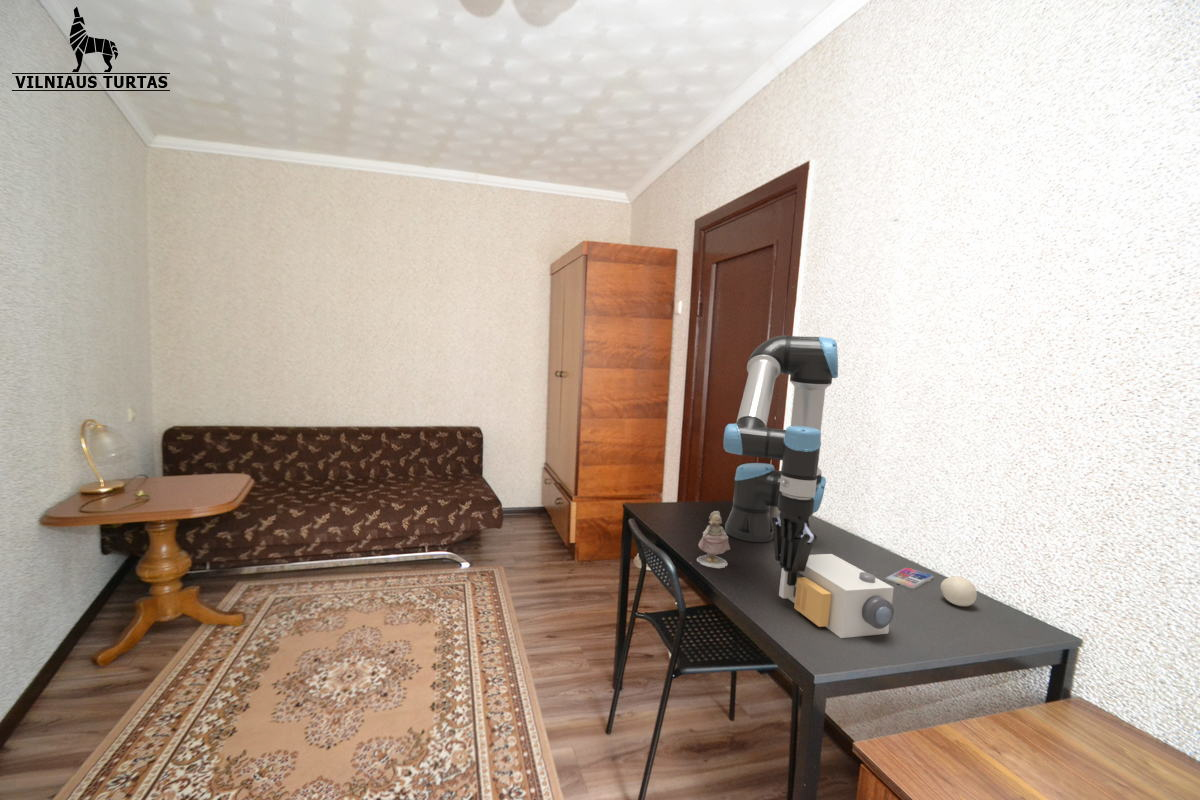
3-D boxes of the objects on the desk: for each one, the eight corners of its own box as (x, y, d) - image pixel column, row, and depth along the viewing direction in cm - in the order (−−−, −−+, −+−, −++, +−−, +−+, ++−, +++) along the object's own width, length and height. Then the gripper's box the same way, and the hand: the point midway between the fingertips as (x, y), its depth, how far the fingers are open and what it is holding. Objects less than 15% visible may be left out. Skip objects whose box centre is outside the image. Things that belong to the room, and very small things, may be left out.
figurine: (708, 571, 127) (701, 512, 131) (684, 569, 136) (678, 513, 139) (739, 566, 133) (731, 509, 136) (714, 564, 141) (708, 510, 144)
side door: (793, 607, 110) (797, 577, 110) (802, 607, 111) (805, 577, 111) (818, 626, 103) (822, 594, 102) (828, 626, 103) (831, 593, 103)
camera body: (784, 596, 118) (789, 551, 117) (827, 593, 121) (832, 549, 120) (849, 645, 98) (855, 591, 97) (898, 640, 101) (905, 588, 100)
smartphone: (883, 577, 132) (905, 566, 142) (883, 581, 133) (905, 569, 142) (914, 587, 127) (935, 575, 136) (913, 591, 127) (935, 579, 136)
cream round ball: (950, 595, 125) (953, 570, 125) (981, 609, 118) (984, 582, 118) (931, 598, 123) (935, 572, 122) (962, 612, 116) (965, 585, 115)
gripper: (765, 487, 117) (755, 584, 118) (801, 503, 104) (789, 611, 106) (792, 487, 119) (782, 583, 120) (831, 503, 106) (819, 609, 108)
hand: (785, 596), depth 113 cm, fingers closed
